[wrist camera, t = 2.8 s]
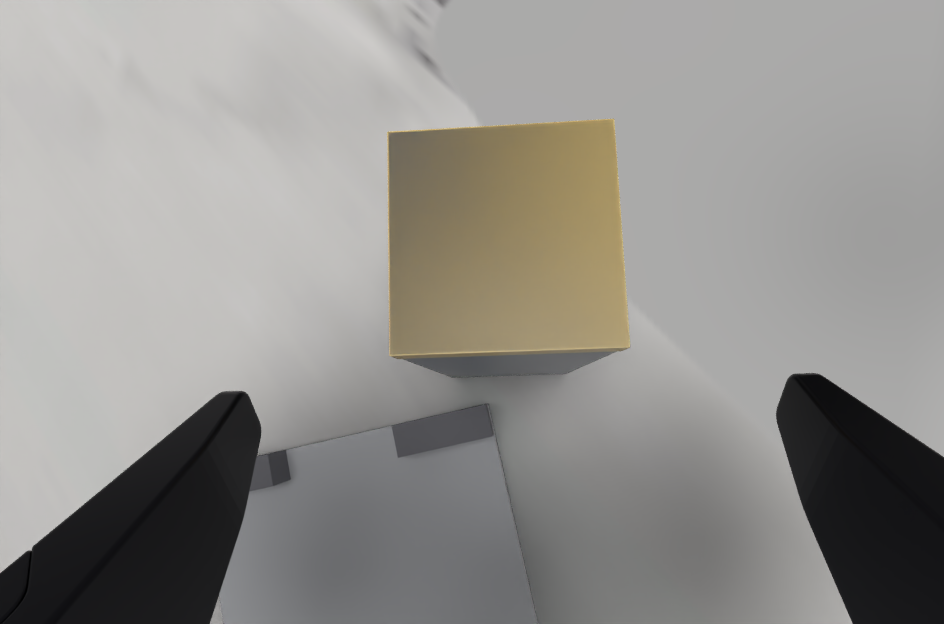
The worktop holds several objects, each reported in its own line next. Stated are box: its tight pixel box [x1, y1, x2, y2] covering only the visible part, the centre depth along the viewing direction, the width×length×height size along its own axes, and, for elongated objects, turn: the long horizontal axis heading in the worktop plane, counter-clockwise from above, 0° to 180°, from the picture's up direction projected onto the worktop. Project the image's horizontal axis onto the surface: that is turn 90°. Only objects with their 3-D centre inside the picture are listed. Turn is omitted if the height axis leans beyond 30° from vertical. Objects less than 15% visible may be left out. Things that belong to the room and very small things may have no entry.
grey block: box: [387, 119, 630, 377], centre depth 16 cm, size 4×4×11 cm
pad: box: [219, 404, 538, 624], centre depth 19 cm, size 10×10×2 cm
